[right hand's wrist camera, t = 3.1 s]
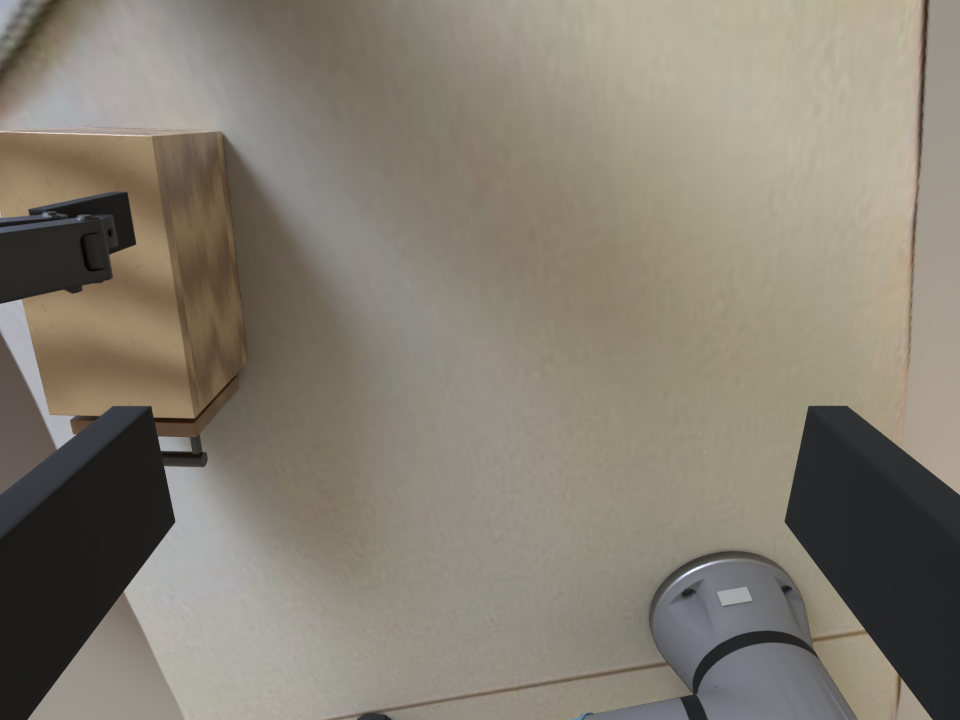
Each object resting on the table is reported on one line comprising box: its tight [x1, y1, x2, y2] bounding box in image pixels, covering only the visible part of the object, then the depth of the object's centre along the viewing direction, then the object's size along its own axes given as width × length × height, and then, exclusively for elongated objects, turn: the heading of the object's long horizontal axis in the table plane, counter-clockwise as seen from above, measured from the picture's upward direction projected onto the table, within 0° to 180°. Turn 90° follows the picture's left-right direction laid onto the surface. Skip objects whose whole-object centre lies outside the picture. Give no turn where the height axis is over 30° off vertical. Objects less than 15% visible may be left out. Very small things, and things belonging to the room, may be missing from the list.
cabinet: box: [0, 127, 248, 418], centre depth 47 cm, size 19×10×11 cm, turn 178°
